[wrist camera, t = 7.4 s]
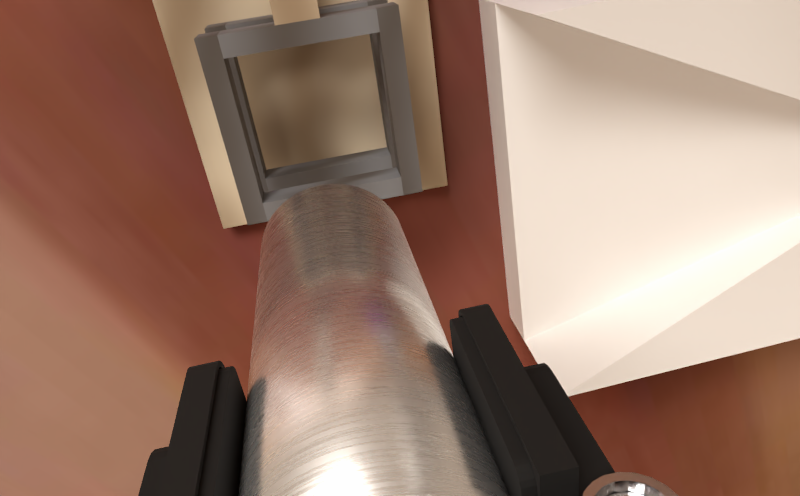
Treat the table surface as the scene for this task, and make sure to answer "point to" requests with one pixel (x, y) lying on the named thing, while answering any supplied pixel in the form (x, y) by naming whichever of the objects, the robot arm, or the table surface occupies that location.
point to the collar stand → (306, 97)
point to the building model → (646, 179)
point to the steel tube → (353, 364)
